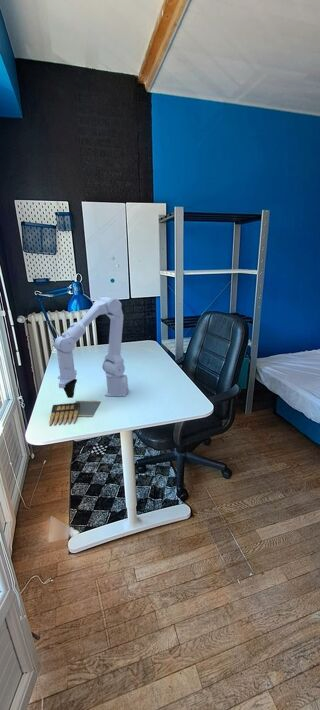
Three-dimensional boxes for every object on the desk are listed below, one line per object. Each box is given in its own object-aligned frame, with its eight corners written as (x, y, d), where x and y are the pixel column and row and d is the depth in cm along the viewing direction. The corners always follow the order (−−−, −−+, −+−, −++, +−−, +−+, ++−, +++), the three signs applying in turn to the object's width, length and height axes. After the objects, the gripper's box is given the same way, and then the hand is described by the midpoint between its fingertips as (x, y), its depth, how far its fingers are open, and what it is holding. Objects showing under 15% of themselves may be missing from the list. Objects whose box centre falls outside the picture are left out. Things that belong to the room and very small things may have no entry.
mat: (100, 401, 129) (100, 400, 129) (92, 417, 117) (92, 415, 117) (76, 401, 130) (76, 400, 130) (65, 416, 118) (65, 415, 118)
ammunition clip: (53, 408, 122) (47, 427, 111) (52, 404, 121) (47, 423, 111) (80, 406, 123) (77, 424, 113) (79, 402, 123) (76, 420, 112)
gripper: (63, 360, 125) (67, 389, 129) (49, 372, 112) (54, 405, 116) (80, 360, 125) (83, 389, 129) (67, 372, 111) (71, 405, 115)
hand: (70, 397), depth 122 cm, fingers closed
